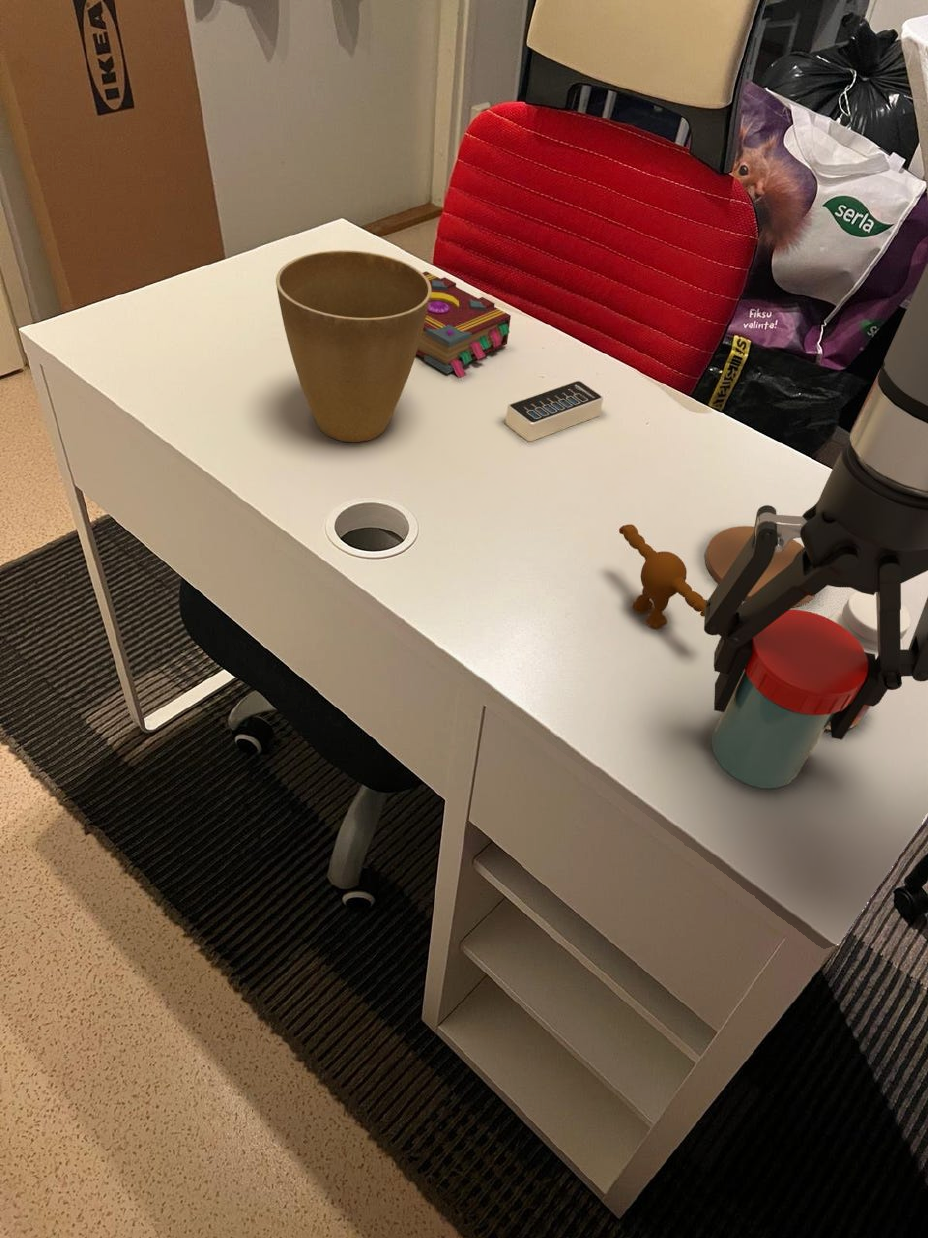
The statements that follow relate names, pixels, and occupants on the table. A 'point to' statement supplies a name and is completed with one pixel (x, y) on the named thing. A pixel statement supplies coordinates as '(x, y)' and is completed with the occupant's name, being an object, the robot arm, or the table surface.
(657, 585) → the toy figurine
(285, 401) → the table surface
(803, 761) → the jar
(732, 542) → the coaster
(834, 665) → the cap
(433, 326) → the decorative book
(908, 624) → the pill bottle
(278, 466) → the table surface
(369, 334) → the plant pot
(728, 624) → the robot arm
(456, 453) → the table surface
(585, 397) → the multiport hub
